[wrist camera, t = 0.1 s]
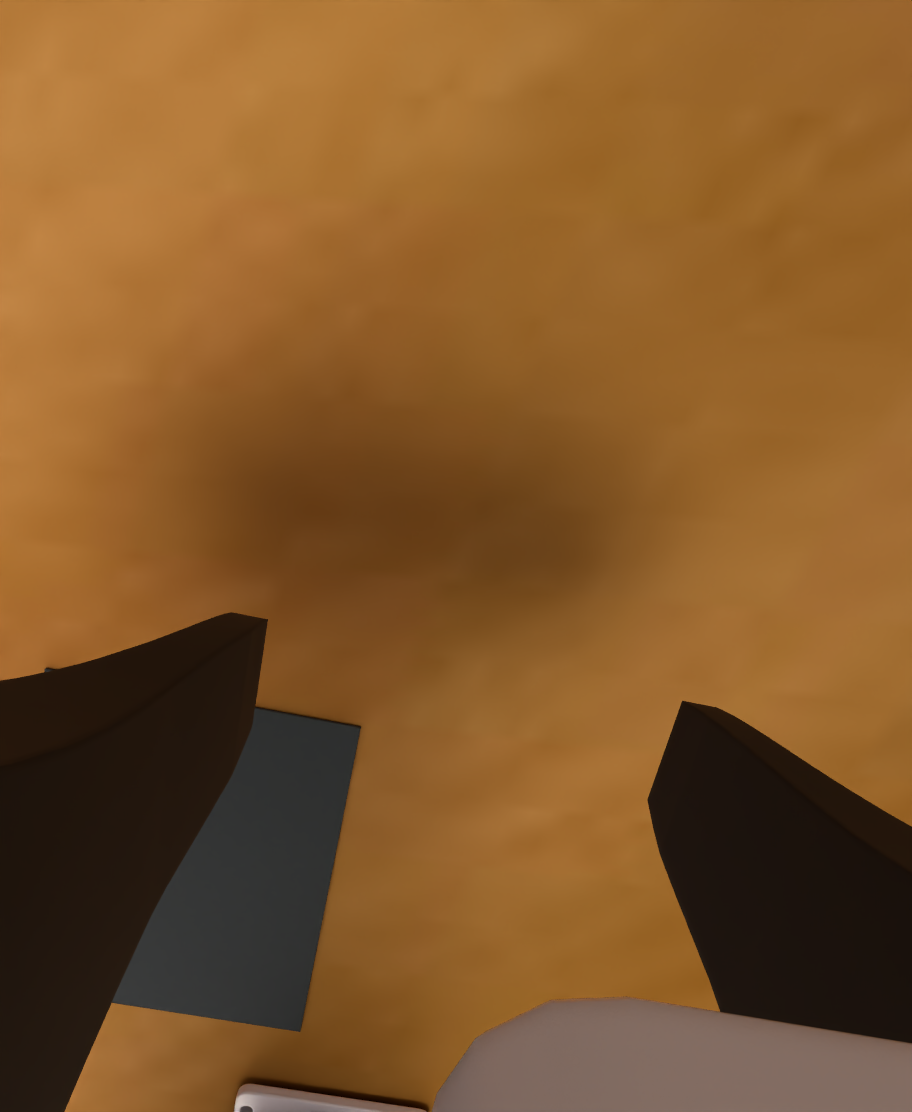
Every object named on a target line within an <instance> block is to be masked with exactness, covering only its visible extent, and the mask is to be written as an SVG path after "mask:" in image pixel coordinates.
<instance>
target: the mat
mask: <svg viewBox="0 0 912 1112" xmlns="http://www.w3.org/2000/svg"><path fill="white" fill-rule="evenodd" d="M52 670H54V669H49V668H46V669H45V672H48V671H52ZM360 729H361V727H359V726H354V725H349V724H343V723H338V722H333V721H327V720H322V719H316V718H311V717H306V716H300V715H295V714H290V713H284V712H279V711H274V710H268V709H263V708H258V707H255V711H254V718H253V725H252V728H251V731H250V733H249V736H248V738H247V741H246V743H245V746H244V748H243V751H242V753H241V755H240V758H239V760H238V762H237V765H236V767H235V769H234V772H233V774H232V776H231V778H230V780H229V782H228V783H227V785H226V787H225V789H224V790H223V792H222V794H221V796H220V797H219V799H218V801H217V802H216V804H215V806H214V808H213V809H212V811H211V813H210V814H209V816H208V818H207V820H206V821H205V823H204V825H203V826H202V828H201V830H200V831H199V833H198V835H197V836H196V838H195V840H194V842H193V843H192V845H191V847H190V848H189V850H188V852H187V853H186V855H185V857H184V858H183V860H182V862H181V864H180V865H179V867H178V869H177V870H176V872H175V874H174V875H173V877H172V879H171V881H170V882H169V884H168V886H167V887H166V889H165V891H164V893H163V895H162V897H161V898H160V900H159V902H158V904H157V906H156V908H155V910H154V912H153V913H152V915H151V917H150V919H149V922H148V924H147V926H146V928H145V930H144V932H143V935H142V937H141V939H140V941H139V943H138V946H137V948H136V950H135V952H134V954H133V956H132V959H131V961H130V963H129V965H128V967H127V969H126V972H125V974H124V976H123V978H122V980H121V983H120V985H119V987H118V989H117V992H116V994H115V996H114V998H113V1001H112V1003H117V1004H124V1005H130V1006H137V1007H143V1008H150V1009H156V1010H163V1011H169V1012H175V1013H182V1014H188V1015H195V1016H201V1017H208V1018H214V1019H221V1020H227V1021H233V1022H240V1023H246V1024H253V1025H259V1026H266V1027H272V1028H279V1029H285V1030H292V1031H298V1032H300V1030H301V1025H302V1020H303V1015H304V1010H305V1005H306V1000H307V995H308V990H309V985H310V980H311V975H312V970H313V965H314V960H315V955H316V950H317V945H318V940H319V935H320V930H321V925H322V920H323V915H324V910H325V905H326V900H327V895H328V890H329V885H330V879H331V874H332V869H333V864H334V859H335V854H336V849H337V844H338V839H339V834H340V829H341V824H342V819H343V814H344V809H345V804H346V799H347V794H348V789H349V784H350V779H351V774H352V769H353V764H354V759H355V754H356V749H357V744H358V739H359V734H360Z"/></svg>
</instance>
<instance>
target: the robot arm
mask: <svg viewBox="0 0 912 1112" xmlns="http://www.w3.org/2000/svg"><path fill="white" fill-rule="evenodd" d="M267 622H268V619H263V618H258V617H252V616H247V615H242V614H237V613H232V612H231V613H226V614H223V615H219V616H216V617H214V618H211V619H208V620H205V621H203V622H200V623H198V624H195V625H192V626H190V627H187V628H185V629H182V630H179V631H177V632H174V633H171V634H169V635H166V636H164V637H161V638H158V639H156V640H153V641H150V642H147V643H144V644H141V645H138V646H135V647H132V648H129V649H126V650H123V651H120V652H117V653H114V654H111V655H108V656H105V657H102V658H98V659H95V660H92V661H88V662H85V663H81V664H77V665H73V666H69V667H66V668H61V669H57V670H52V671H48V672H44V673H39V674H35V675H30V676H25V677H20V678H15V679H9V680H2V681H0V1112H64V1111H65V1109H66V1107H67V1104H68V1102H69V1099H70V1097H71V1095H72V1092H73V1090H74V1088H75V1085H76V1083H77V1081H78V1078H79V1076H80V1074H81V1071H82V1069H83V1066H84V1064H85V1062H86V1059H87V1057H88V1055H89V1053H90V1050H91V1048H92V1046H93V1044H94V1041H95V1039H96V1037H97V1035H98V1032H99V1030H100V1028H101V1025H102V1023H103V1021H104V1019H105V1016H106V1014H107V1012H108V1010H109V1007H110V1005H111V1003H112V1001H113V998H114V996H115V994H116V992H117V989H118V987H119V985H120V983H121V980H122V978H123V976H124V974H125V972H126V969H127V967H128V965H129V963H130V961H131V959H132V956H133V954H134V952H135V950H136V948H137V946H138V943H139V941H140V939H141V937H142V935H143V932H144V930H145V928H146V926H147V924H148V922H149V919H150V917H151V915H152V913H153V912H154V910H155V908H156V906H157V904H158V902H159V900H160V898H161V897H162V895H163V893H164V891H165V889H166V887H167V886H168V884H169V882H170V881H171V879H172V877H173V875H174V874H175V872H176V870H177V869H178V867H179V865H180V864H181V862H182V860H183V858H184V857H185V855H186V853H187V852H188V850H189V848H190V847H191V845H192V843H193V842H194V840H195V838H196V836H197V835H198V833H199V831H200V830H201V828H202V826H203V825H204V823H205V821H206V820H207V818H208V816H209V814H210V813H211V811H212V809H213V808H214V806H215V804H216V802H217V801H218V799H219V797H220V796H221V794H222V792H223V790H224V789H225V787H226V785H227V783H228V782H229V780H230V778H231V776H232V774H233V772H234V769H235V767H236V765H237V762H238V760H239V758H240V755H241V753H242V751H243V748H244V746H245V743H246V741H247V738H248V736H249V733H250V731H251V728H252V725H253V718H254V711H255V704H256V697H257V690H258V684H259V677H260V670H261V663H262V656H263V650H264V643H265V636H266V629H267ZM648 805H649V809H650V814H651V819H652V824H653V828H654V833H655V836H656V840H657V844H658V848H659V852H660V855H661V858H662V861H663V863H664V866H665V869H666V871H667V874H668V876H669V879H670V882H671V884H672V887H673V889H674V892H675V895H676V897H677V900H678V902H679V905H680V907H681V910H682V912H683V915H684V917H685V920H686V922H687V925H688V927H689V930H690V932H691V935H692V937H693V940H694V942H695V945H696V948H697V950H698V953H699V955H700V958H701V960H702V963H703V965H704V968H705V970H706V973H707V975H708V978H709V980H710V983H711V986H712V989H713V992H714V995H715V997H716V1000H717V1003H718V1006H719V1009H720V1012H717V1011H711V1010H705V1009H699V1008H693V1007H687V1006H681V1005H675V1004H669V1003H663V1002H657V1001H650V1000H644V999H638V998H632V997H605V998H581V999H557V1000H549V1001H547V1002H545V1003H543V1004H541V1005H539V1006H537V1007H535V1008H533V1009H531V1010H529V1011H527V1012H525V1013H523V1014H520V1015H518V1016H516V1017H514V1018H512V1019H510V1020H508V1021H506V1022H504V1023H502V1024H500V1025H498V1026H496V1027H494V1028H492V1029H489V1030H487V1031H486V1032H484V1033H483V1034H481V1035H480V1036H478V1037H477V1038H475V1040H474V1041H473V1043H472V1044H471V1046H470V1047H469V1048H468V1050H467V1051H466V1053H465V1054H464V1056H463V1057H462V1058H461V1060H460V1061H459V1063H458V1064H457V1066H456V1067H455V1068H454V1070H453V1071H452V1073H451V1074H450V1076H449V1077H448V1078H447V1080H446V1081H445V1083H444V1084H443V1086H442V1087H441V1088H440V1090H439V1091H438V1093H437V1095H436V1099H435V1102H434V1106H433V1109H432V1112H912V827H911V826H909V825H908V824H906V823H904V822H902V821H901V820H899V819H897V818H895V817H894V816H892V815H890V814H888V813H887V812H885V811H883V810H882V809H880V808H878V807H877V806H875V805H873V804H872V803H870V802H868V801H867V800H865V799H863V798H862V797H860V796H859V795H857V794H855V793H854V792H852V791H850V790H849V789H847V788H845V787H844V786H842V785H841V784H839V783H838V782H836V781H834V780H833V779H831V778H830V777H828V776H827V775H825V774H824V773H822V772H820V771H819V770H817V769H816V768H814V767H813V766H811V765H810V764H808V763H807V762H805V761H804V760H802V759H801V758H799V757H798V756H796V755H795V754H793V753H791V752H790V751H788V750H787V749H785V748H784V747H782V746H781V745H779V744H778V743H776V742H775V741H773V740H772V739H770V738H769V737H767V736H766V735H764V734H763V733H761V732H759V731H758V730H756V729H755V728H753V727H751V726H750V725H748V724H747V723H745V722H743V721H742V720H740V719H738V718H736V717H735V716H733V715H731V714H729V713H727V712H725V711H723V710H721V709H719V708H716V707H711V706H706V705H701V704H696V703H691V702H686V701H682V703H681V706H680V709H679V712H678V715H677V717H676V720H675V723H674V726H673V729H672V732H671V734H670V737H669V740H668V743H667V746H666V749H665V751H664V754H663V757H662V760H661V763H660V766H659V768H658V771H657V774H656V777H655V780H654V783H653V786H652V788H651V791H650V794H649V797H648ZM234 1112H427V1111H425V1110H423V1109H419V1108H412V1107H405V1106H398V1105H392V1104H385V1103H378V1102H372V1101H365V1100H358V1099H352V1098H345V1097H338V1096H331V1095H325V1094H318V1093H311V1092H305V1091H298V1090H291V1089H285V1088H278V1087H271V1086H264V1085H258V1084H245V1085H243V1086H241V1087H240V1088H239V1090H238V1093H237V1097H236V1101H235V1107H234Z"/></svg>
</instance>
